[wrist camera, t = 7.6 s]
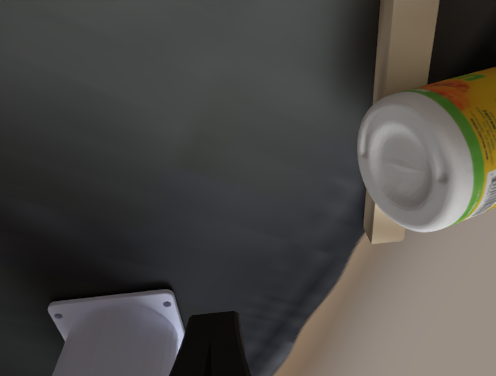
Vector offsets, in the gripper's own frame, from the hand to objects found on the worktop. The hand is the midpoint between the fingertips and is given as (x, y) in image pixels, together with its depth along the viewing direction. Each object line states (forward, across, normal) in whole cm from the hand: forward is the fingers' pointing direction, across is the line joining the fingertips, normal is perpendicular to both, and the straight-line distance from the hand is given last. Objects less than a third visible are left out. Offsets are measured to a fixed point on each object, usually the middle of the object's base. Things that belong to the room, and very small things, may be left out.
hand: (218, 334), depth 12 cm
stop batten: (+10, -8, -1) cm, 14 cm away
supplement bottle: (+5, -7, -2) cm, 9 cm away
